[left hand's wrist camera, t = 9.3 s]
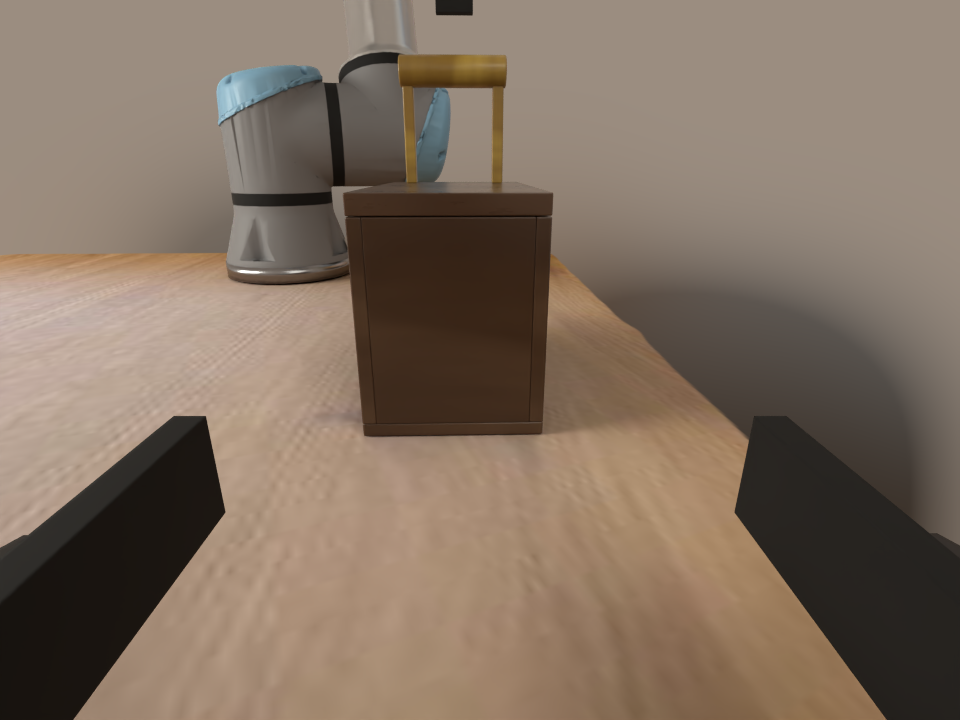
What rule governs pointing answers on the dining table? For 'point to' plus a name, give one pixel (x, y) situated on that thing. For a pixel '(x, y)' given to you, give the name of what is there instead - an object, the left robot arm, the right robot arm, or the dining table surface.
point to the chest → (450, 322)
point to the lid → (450, 195)
